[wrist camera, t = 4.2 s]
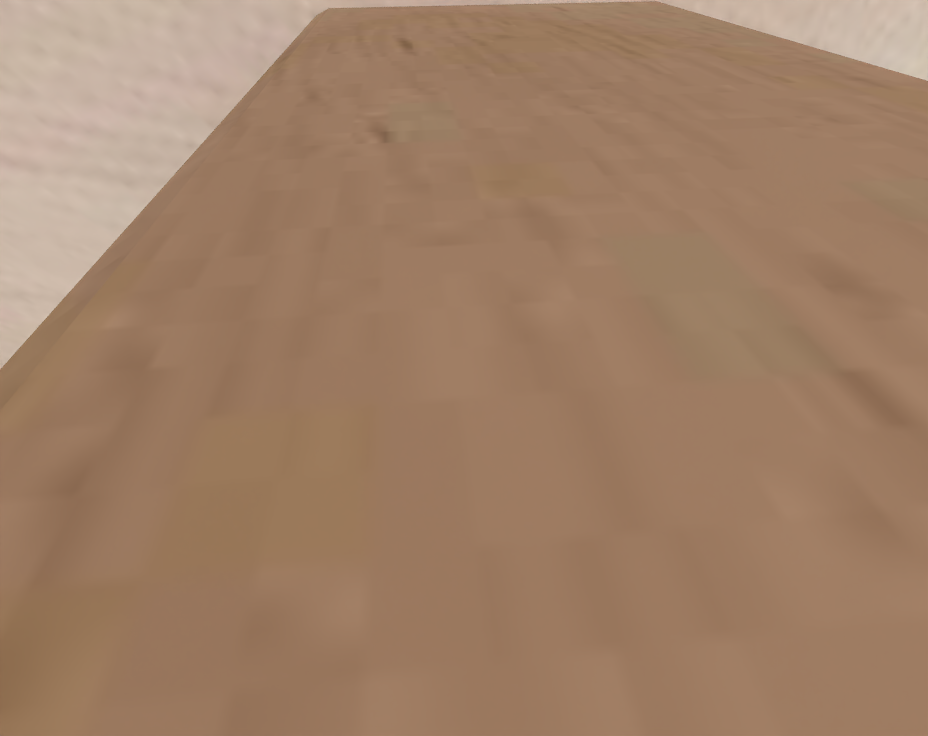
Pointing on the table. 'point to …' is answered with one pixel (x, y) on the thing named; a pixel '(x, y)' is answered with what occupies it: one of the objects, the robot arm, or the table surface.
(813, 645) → the wooden block
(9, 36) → the table surface
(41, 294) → the table surface
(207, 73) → the table surface
